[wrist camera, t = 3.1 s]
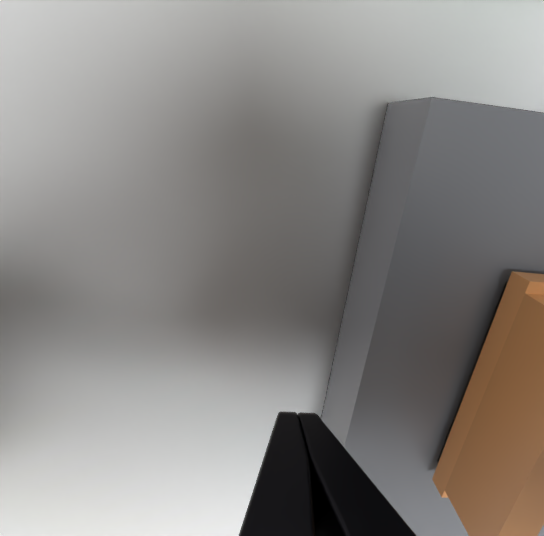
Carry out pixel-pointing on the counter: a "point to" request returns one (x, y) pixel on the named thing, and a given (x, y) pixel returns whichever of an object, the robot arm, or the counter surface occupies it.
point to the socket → (431, 288)
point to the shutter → (502, 423)
